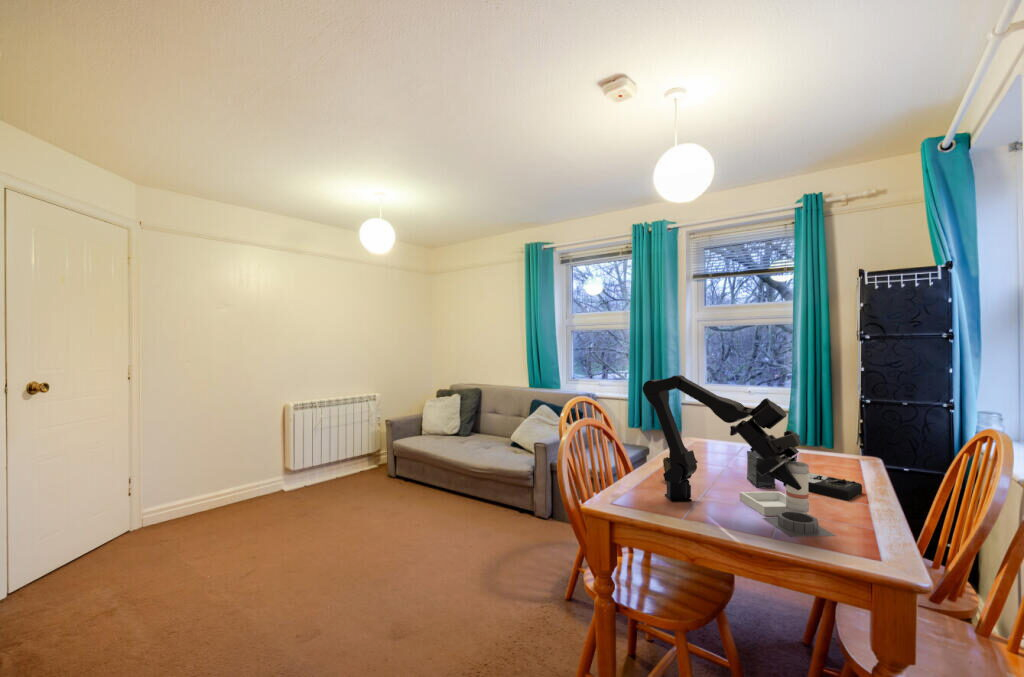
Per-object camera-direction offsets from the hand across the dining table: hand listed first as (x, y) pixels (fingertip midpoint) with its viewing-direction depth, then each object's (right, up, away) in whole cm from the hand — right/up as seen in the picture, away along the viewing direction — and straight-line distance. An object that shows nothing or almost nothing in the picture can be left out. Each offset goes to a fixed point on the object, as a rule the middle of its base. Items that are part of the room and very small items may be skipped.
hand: (803, 487), depth 117 cm
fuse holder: (-1, -12, +1) cm, 12 cm away
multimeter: (+29, -13, +34) cm, 46 cm away
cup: (-19, -13, +43) cm, 49 cm away
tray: (+1, -12, +15) cm, 19 cm away
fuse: (-1, -6, +1) cm, 6 cm away
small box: (+12, -13, +40) cm, 44 cm away
